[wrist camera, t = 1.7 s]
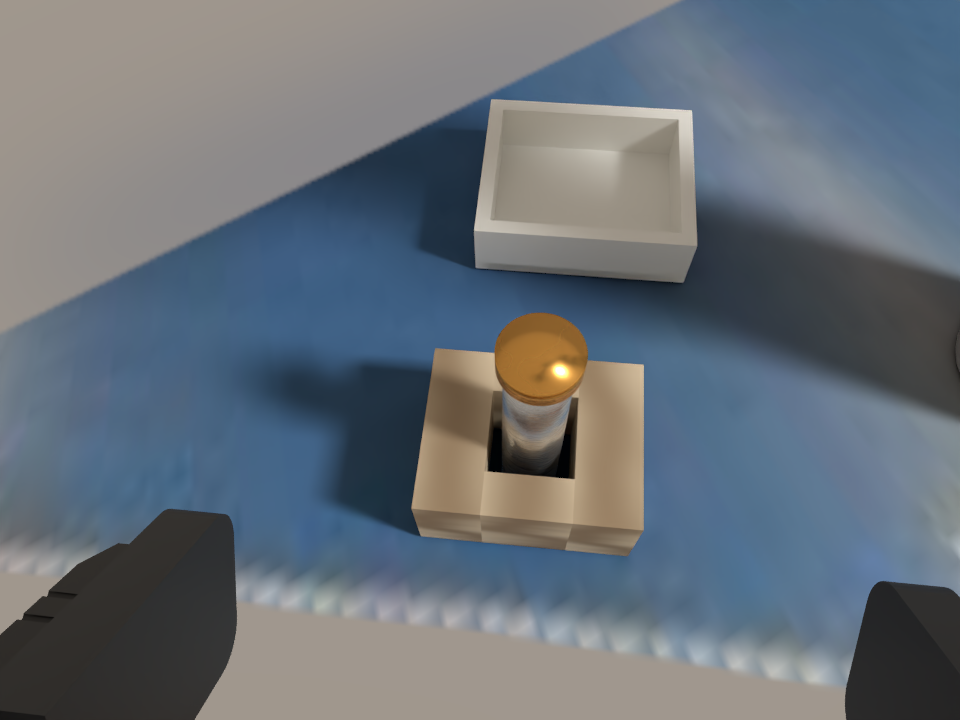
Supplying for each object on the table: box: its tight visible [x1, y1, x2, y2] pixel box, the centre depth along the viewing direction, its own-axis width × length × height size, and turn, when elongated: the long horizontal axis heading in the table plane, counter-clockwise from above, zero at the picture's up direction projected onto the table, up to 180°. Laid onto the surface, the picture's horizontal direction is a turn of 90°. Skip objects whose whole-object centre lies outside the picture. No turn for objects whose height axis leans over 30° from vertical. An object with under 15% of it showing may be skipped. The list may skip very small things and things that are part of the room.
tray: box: [474, 99, 697, 283], centre depth 45 cm, size 12×10×4 cm
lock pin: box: [495, 313, 588, 478], centre depth 33 cm, size 3×3×12 cm
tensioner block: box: [411, 348, 644, 556], centre depth 36 cm, size 10×8×4 cm
